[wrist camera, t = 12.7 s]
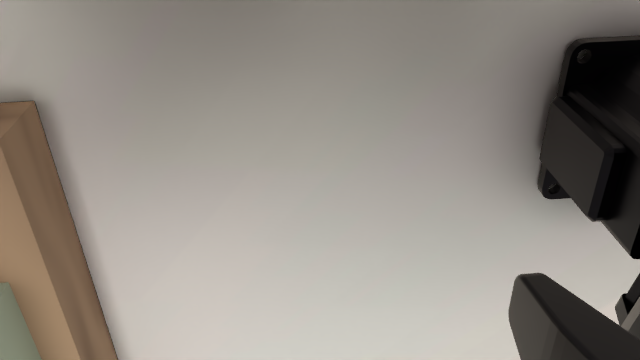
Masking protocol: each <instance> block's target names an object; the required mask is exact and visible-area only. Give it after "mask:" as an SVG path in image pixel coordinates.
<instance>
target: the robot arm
mask: <svg viewBox="0 0 640 360" xmlns="http://www.w3.org/2000/svg"><path fill="white" fill-rule="evenodd" d="M585 49H586V54H585V56H584V57H582V58H581V59H578V60H577V56H578V54H579V53H580V52H581V51H582V50H585ZM540 161H541V162H542V167H541V172H540V177H539V182H538V189H539V191H540V192H541V193H542V195H543V196H544V197H545V198H547V199H562V198H572V200H573V201H574V202H575V203H576V204H577V206H578V207H579V208H580V209H581V211H582V212H583V213H584V214H585V215H586V216H587V217H588V218H589V219H590V220H591V221H592V222H596V221H601V222H602V223H603V224H604V226H605V227H606V228H607V229H608V230H609V231H610V233H611V234H612V235H613V236H614V237H615V239H616V240H617V241H618V242H619V243H620V244H621V246H622V247H623V248H624V249H625V250H626V252H627V253H628V254H629V255H630V256H631V257H632V258H633V259H640V36H627V37H608V38H589V39H580V40H576V41H574V42H573V43H571V44H570V46H569V47H568V48H567V50H566V53H565V57H564V62H563V67H562V71H561V76H560V81H559V86H558V91H557V95H556V98H555V99H554V100H553V101H552V102H551V105H550V110H549V115H548V119H547V124H546V129H545V134H544V139H543V144H542V149H541V154H540ZM555 183H556V185H555V186H554V187H553V188H550V189H548V188H549V186H551V185H552V184H555ZM615 310H616V314H617V317H618V321H619V325H620V326H619V325H618V324H616V323H615V322H613V321H612V320H610V319H609V318H607V317H606V316H604V315H603V314H602V313H600V312H599V311H597V310H596V309H594V308H593V307H591V306H590V305H589V304H587V303H586V302H584V301H583V300H581V299H580V298H578V297H577V296H575V295H574V294H572V293H571V292H570V291H568V290H567V289H565V288H564V287H562V286H561V285H559V284H558V283H556V282H555V281H553V280H552V279H551V278H549V277H548V276H546V275H544V274H542V273H531V274H520V275H518V276H517V277H516V279H515V282H514V286H513V291H512V296H511V301H510V306H509V322H510V326H511V329H512V332H513V336H514V339H515V342H516V345H517V349H518V352H519V355H520V358H521V360H640V273H639V275H638V277H637V278H636V280H635V281H634V283H633V285H632V286H631V288H630V290H629V291H628V293H627V294H623V295H622V296H621V297H620V299H619V301H618V302H617V304H616V306H615Z"/></svg>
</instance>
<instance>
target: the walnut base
mask: <svg viewBox="0 0 640 360" xmlns="http://www.w3.org/2000/svg"><path fill="white" fill-rule="evenodd" d="M6 282H9V285H10V287H11V289H12V292H13V294H14V296H15V299H16V301H17V303H18V306H19V308H20V310H21V313H22V315H23V317H24V320H25V322H26V324H27V327H28V329H29V331H30V334H31V336H32V338H33V341H34V343H35V345H36V348H37V350H38V352H39V355H40V357H41V359H42V360H118V359H117V356H116V353H115V350H114V347H113V343H112V340H111V337H110V334H109V331H108V328H107V325H106V322H105V319H104V316H103V313H102V310H101V306H100V303H99V300H98V297H97V294H96V291H95V288H94V285H93V282H92V279H91V276H90V272H89V269H88V266H87V263H86V260H85V257H84V254H83V251H82V248H81V245H80V242H79V239H78V235H77V232H76V229H75V226H74V223H73V220H72V217H71V214H70V211H69V208H68V205H67V201H66V198H65V195H64V192H63V189H62V186H61V183H60V180H59V177H58V174H57V171H56V168H55V164H54V161H53V158H52V155H51V152H50V149H49V146H48V143H47V140H46V137H45V134H44V130H43V127H42V124H41V121H40V118H39V115H38V112H37V109H36V106H35V103H34V101H27V102H10V103H0V283H6Z"/></svg>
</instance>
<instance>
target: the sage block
mask: <svg viewBox="0 0 640 360" xmlns="http://www.w3.org/2000/svg"><path fill="white" fill-rule="evenodd" d="M0 360H42V359H41V357H40V355H39V352H38V350H37V348H36V345H35V343H34V341H33V338H32V336H31V334H30V331H29V329H28V327H27V324H26V322H25V320H24V317H23V315H22V313H21V310H20V308H19V306H18V303H17V301H16V299H15V296H14V294H13V292H12V289H11V287H10V285H9V282H6V283H0Z"/></svg>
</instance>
